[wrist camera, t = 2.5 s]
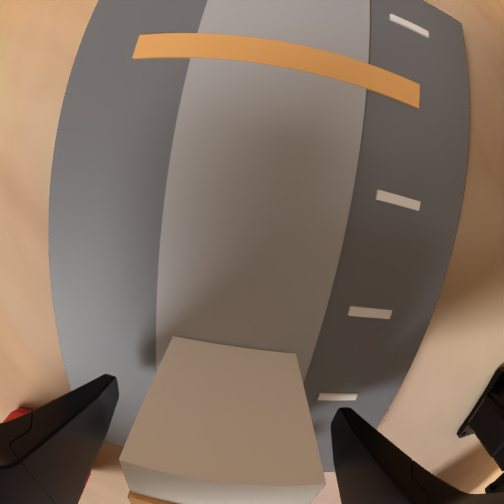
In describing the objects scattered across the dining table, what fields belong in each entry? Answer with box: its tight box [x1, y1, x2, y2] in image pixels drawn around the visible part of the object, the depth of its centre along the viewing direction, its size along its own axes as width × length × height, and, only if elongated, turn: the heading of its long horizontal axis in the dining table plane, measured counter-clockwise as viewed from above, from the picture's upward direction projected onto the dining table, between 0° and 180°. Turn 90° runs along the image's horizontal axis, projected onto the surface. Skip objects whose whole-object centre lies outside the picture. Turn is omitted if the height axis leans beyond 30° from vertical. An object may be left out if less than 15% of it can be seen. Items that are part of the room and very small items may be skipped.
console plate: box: [49, 0, 470, 472], centre depth 8 cm, size 14×22×4 cm, turn 171°
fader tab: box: [119, 336, 326, 504], centre depth 7 cm, size 4×4×5 cm
